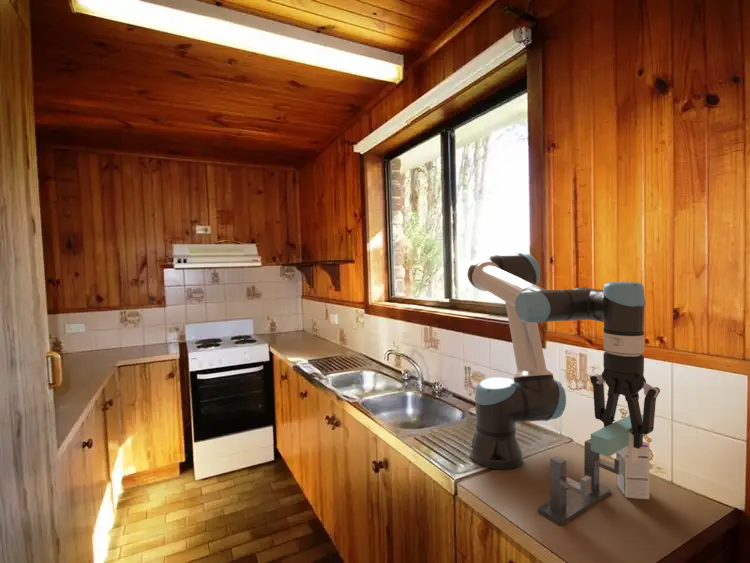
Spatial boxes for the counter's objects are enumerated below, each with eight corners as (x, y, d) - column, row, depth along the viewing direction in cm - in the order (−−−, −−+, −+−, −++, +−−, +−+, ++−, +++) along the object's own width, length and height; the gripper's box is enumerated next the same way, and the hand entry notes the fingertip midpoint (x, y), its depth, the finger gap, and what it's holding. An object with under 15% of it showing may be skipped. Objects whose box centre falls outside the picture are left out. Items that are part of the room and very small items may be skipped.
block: (590, 450, 82) (590, 433, 82) (634, 426, 93) (635, 412, 93) (608, 456, 80) (608, 440, 79) (651, 431, 91) (651, 416, 90)
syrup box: (650, 500, 96) (651, 442, 96) (624, 497, 98) (624, 440, 97) (639, 487, 102) (640, 432, 101) (614, 484, 103) (615, 431, 103)
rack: (537, 512, 93) (537, 458, 92) (587, 481, 105) (587, 434, 104) (579, 536, 84) (579, 477, 84) (627, 500, 97) (628, 448, 96)
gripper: (576, 348, 90) (576, 447, 92) (659, 362, 77) (658, 479, 78) (593, 344, 95) (593, 439, 96) (675, 357, 81) (674, 467, 82)
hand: (622, 456), depth 87 cm, fingers closed on block, 3 cm apart
